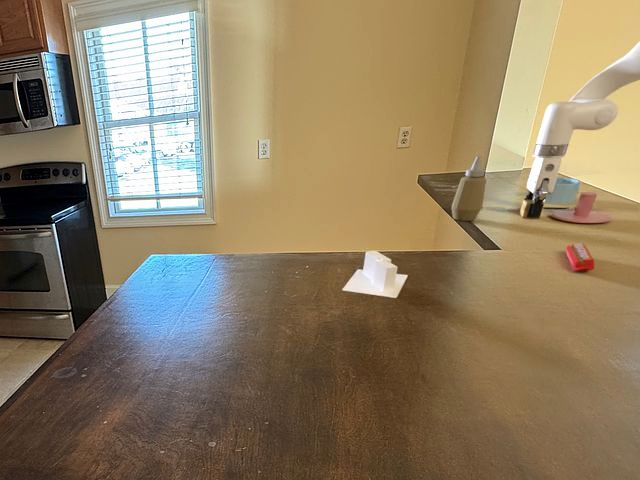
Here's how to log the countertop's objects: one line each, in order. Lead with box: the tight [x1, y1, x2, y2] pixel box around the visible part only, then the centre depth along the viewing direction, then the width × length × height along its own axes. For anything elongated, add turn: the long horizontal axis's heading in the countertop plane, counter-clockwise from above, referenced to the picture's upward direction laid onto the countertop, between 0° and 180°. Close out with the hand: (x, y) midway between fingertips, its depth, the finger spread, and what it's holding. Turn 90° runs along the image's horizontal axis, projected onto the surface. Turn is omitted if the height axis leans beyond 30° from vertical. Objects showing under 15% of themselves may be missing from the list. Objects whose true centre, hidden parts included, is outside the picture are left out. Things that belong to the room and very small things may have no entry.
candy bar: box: [565, 243, 595, 273], centre depth 109 cm, size 16×4×3 cm, turn 150°
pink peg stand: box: [550, 191, 613, 224], centre depth 138 cm, size 14×14×7 cm
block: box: [519, 199, 545, 219], centre depth 144 cm, size 4×4×4 cm
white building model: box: [341, 250, 409, 299], centre depth 106 cm, size 15×11×6 cm
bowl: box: [540, 176, 583, 210], centre depth 153 cm, size 13×13×8 cm
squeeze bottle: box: [451, 155, 487, 222], centre depth 143 cm, size 8×8×18 cm
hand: (530, 213), depth 145 cm, fingers open, 6 cm apart
